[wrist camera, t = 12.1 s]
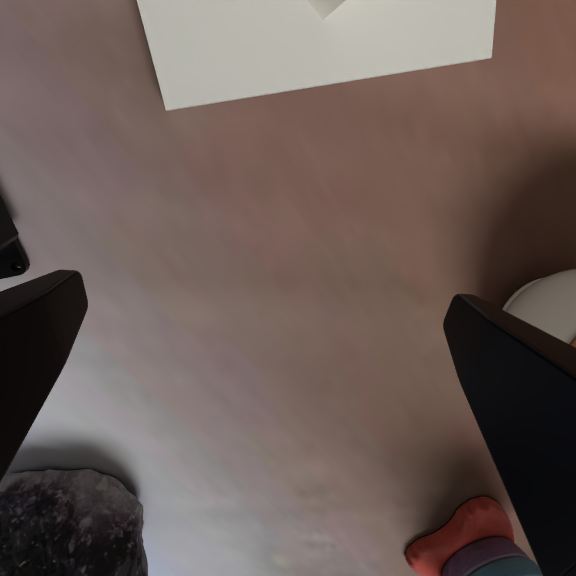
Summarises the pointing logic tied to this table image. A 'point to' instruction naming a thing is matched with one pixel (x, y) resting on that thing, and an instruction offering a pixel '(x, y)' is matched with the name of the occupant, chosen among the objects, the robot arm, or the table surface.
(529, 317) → the lidded jar
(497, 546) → the stacking bear
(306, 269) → the table surface
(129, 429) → the table surface
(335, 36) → the stone board
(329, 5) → the white knobbed block
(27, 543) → the dark rough rock
